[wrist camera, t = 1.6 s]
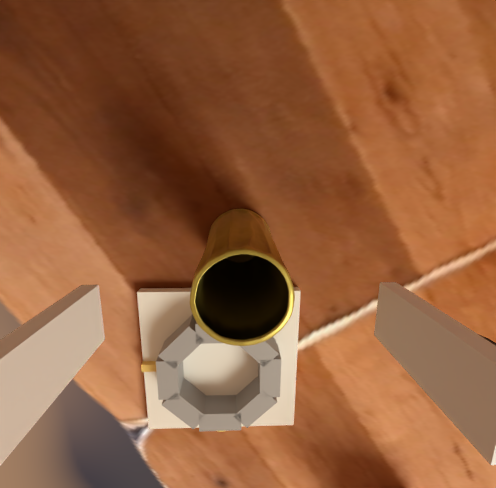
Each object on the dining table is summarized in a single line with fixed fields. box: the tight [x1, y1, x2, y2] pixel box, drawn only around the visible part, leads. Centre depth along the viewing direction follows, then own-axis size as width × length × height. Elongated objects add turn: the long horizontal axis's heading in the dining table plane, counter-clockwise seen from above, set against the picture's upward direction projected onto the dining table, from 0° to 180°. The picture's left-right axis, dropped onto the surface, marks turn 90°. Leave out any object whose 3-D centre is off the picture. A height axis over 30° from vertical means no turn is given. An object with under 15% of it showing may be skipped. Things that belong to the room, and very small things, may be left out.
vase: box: [190, 209, 295, 346], centre depth 21 cm, size 6×6×14 cm
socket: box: [137, 287, 300, 432], centre depth 29 cm, size 16×16×4 cm
